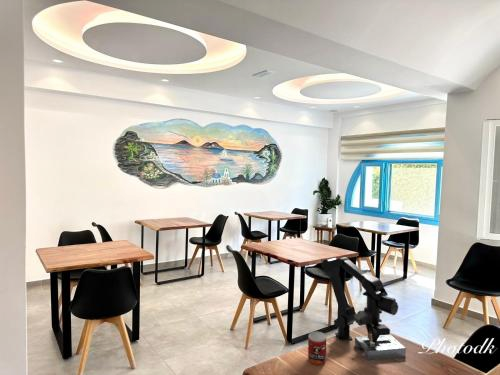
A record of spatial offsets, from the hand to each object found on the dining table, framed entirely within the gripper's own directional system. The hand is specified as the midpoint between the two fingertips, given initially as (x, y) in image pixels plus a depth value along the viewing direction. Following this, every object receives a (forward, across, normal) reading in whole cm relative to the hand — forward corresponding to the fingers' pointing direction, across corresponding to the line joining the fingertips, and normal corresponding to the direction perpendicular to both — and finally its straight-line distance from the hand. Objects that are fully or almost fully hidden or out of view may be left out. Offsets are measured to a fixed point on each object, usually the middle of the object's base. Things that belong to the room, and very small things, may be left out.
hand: (372, 340), depth 148 cm
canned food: (+5, +3, -27) cm, 28 cm away
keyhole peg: (+5, 0, 0) cm, 5 cm away
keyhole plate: (+5, 0, +4) cm, 6 cm away
